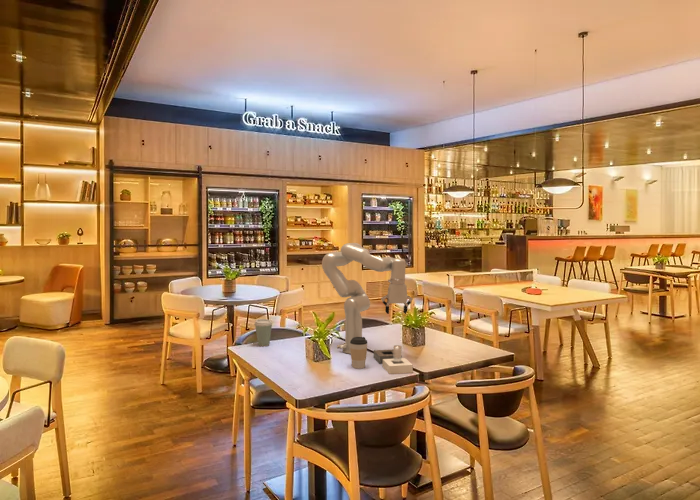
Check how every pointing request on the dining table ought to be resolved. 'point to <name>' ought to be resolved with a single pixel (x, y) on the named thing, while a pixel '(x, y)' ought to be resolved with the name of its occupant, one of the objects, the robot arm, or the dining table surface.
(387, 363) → the socket block
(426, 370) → the dining table surface
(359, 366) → the coffee cup
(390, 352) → the block
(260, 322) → the disposable coffee cup
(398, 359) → the pin
